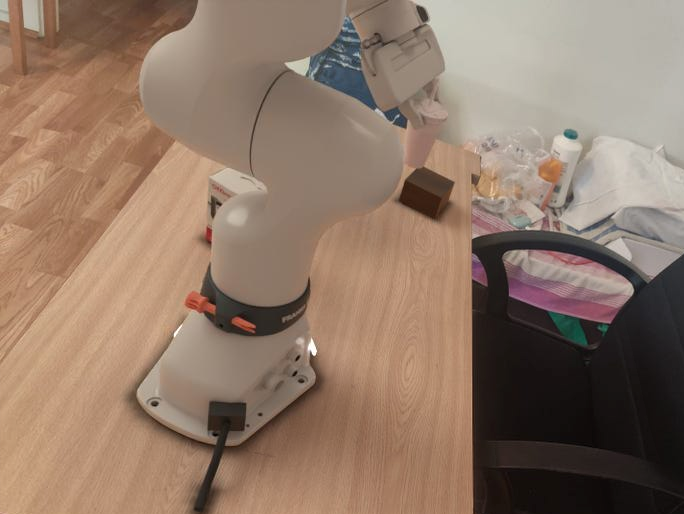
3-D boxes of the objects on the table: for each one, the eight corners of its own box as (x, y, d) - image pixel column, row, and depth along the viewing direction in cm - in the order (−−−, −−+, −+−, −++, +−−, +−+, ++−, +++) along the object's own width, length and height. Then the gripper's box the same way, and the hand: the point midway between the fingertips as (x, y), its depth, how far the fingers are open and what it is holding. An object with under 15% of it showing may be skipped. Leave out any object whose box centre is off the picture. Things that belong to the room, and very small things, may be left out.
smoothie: (434, 160, 103) (459, 80, 93) (428, 178, 98) (454, 96, 89) (398, 146, 102) (420, 64, 92) (390, 164, 97) (412, 79, 87)
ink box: (203, 239, 94) (205, 174, 86) (225, 227, 97) (229, 163, 89) (249, 267, 93) (255, 203, 85) (270, 254, 97) (277, 192, 89)
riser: (434, 219, 120) (441, 197, 116) (398, 201, 120) (404, 179, 116) (447, 202, 126) (455, 182, 122) (413, 185, 125) (419, 164, 122)
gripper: (374, 34, 79) (421, 135, 85) (430, 6, 94) (466, 94, 100) (338, 52, 82) (386, 149, 88) (398, 22, 97) (435, 107, 103)
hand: (429, 119), depth 95 cm, fingers closed on smoothie, 6 cm apart
